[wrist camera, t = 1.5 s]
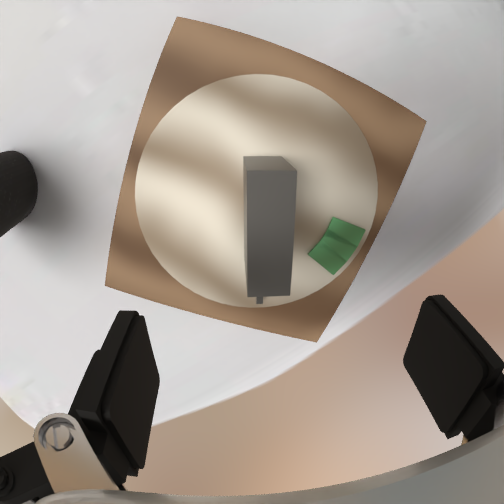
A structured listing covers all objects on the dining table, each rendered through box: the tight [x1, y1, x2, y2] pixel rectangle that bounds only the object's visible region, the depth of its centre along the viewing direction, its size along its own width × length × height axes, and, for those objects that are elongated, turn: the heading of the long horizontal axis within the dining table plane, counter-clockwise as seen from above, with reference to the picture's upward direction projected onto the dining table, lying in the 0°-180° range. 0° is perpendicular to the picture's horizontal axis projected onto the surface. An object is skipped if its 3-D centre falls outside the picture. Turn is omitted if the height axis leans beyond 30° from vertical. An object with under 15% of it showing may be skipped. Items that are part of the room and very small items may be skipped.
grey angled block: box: [243, 156, 297, 304], centre depth 20 cm, size 12×2×6 cm, turn 0°
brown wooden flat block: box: [105, 17, 426, 342], centre depth 23 cm, size 22×20×4 cm
